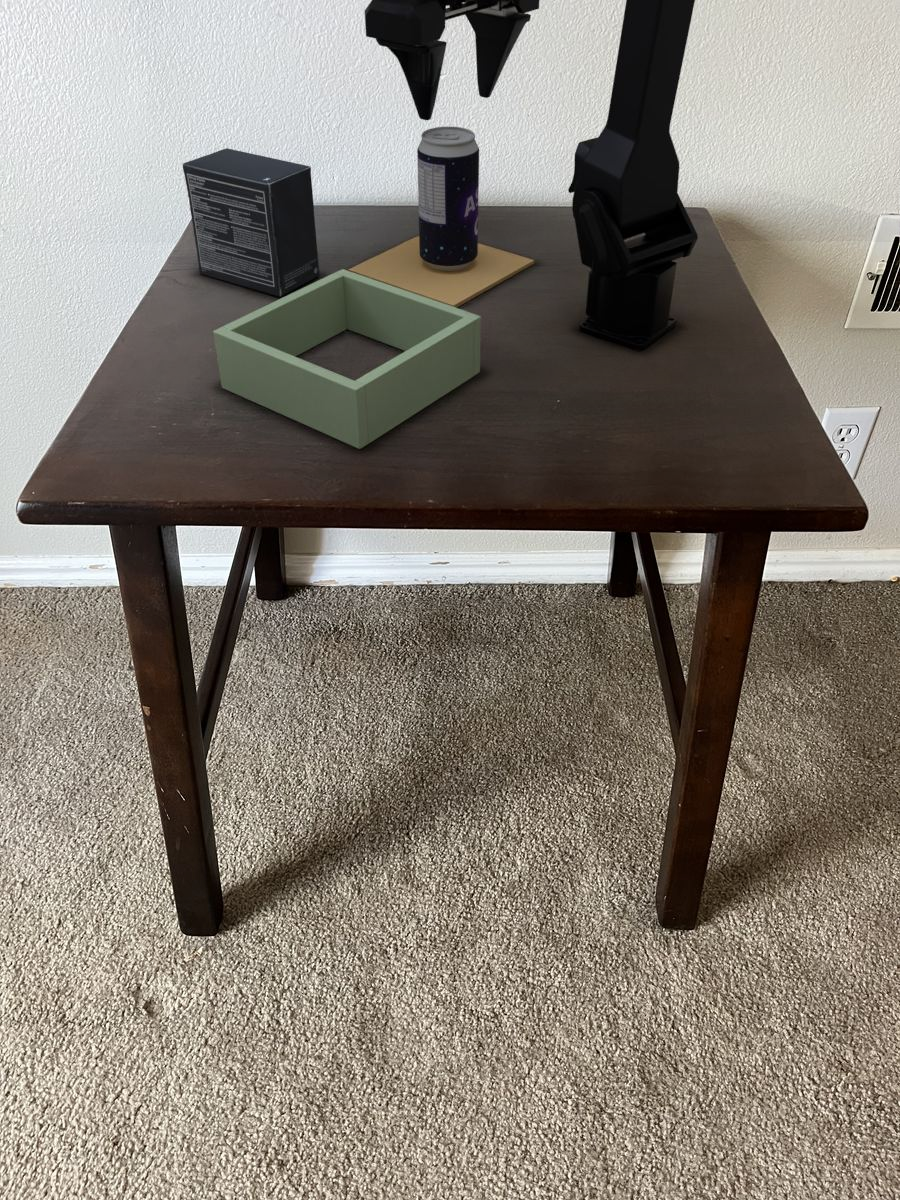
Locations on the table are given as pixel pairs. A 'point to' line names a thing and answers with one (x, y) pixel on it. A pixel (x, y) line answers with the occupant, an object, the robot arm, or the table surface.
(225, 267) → the small box
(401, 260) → the mat
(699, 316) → the table surface
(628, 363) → the table surface
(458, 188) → the beverage can
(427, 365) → the frame
